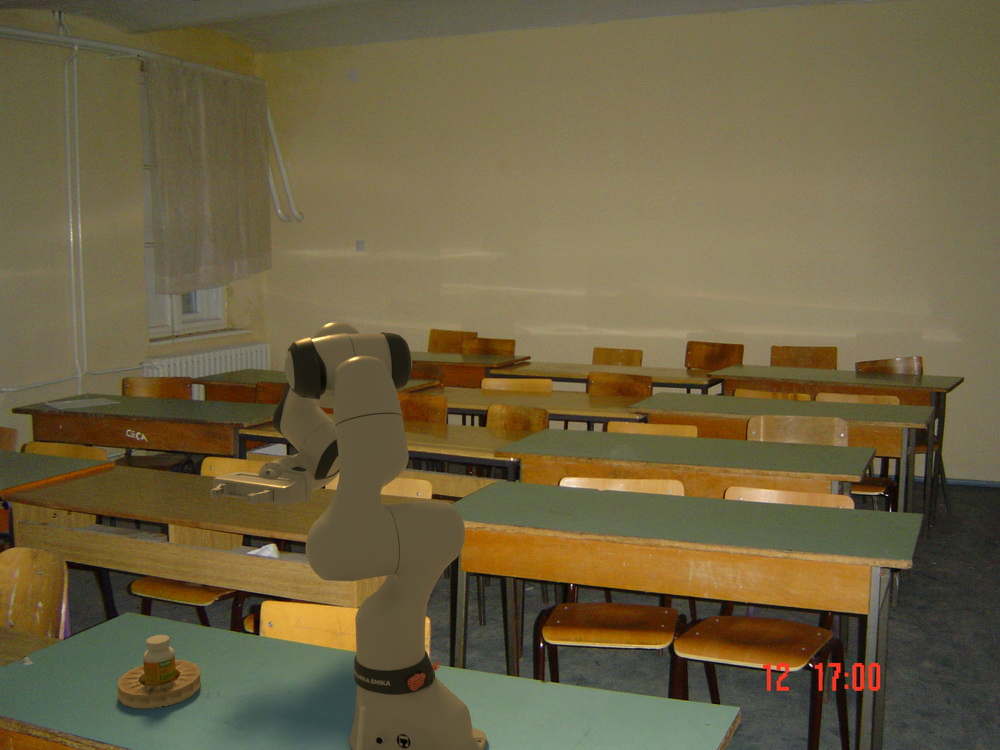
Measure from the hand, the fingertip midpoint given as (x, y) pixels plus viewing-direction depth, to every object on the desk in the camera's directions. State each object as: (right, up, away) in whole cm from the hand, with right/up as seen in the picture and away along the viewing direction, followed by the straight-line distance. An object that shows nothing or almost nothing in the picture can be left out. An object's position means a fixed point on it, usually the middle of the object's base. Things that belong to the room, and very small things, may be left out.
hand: (230, 497), depth 180 cm
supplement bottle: (-10, -34, -11) cm, 37 cm away
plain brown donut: (-10, -34, -11) cm, 37 cm away
